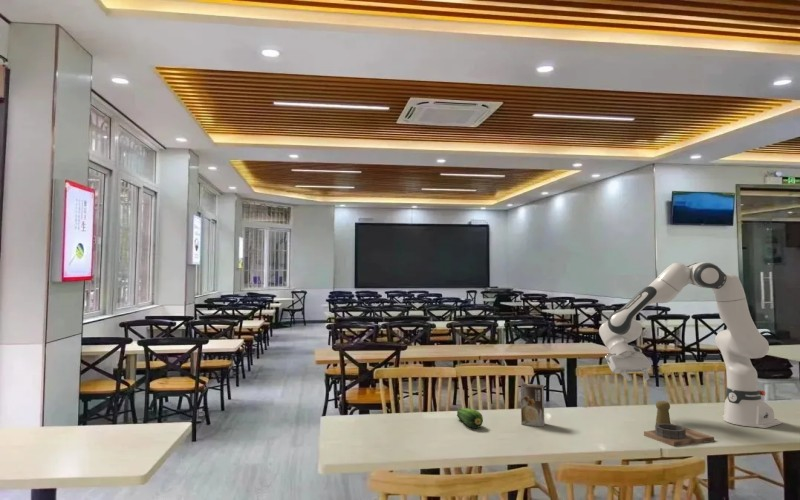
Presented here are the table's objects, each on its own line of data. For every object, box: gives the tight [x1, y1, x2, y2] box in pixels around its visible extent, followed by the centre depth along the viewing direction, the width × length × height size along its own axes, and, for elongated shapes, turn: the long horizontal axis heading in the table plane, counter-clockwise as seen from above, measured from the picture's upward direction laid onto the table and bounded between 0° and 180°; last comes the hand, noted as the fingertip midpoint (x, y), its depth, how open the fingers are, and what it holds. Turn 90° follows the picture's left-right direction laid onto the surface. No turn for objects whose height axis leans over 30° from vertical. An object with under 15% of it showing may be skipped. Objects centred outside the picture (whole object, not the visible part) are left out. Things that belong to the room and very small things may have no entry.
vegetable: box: [456, 407, 484, 429], centre depth 220 cm, size 7×7×20 cm
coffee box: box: [520, 383, 545, 427], centre depth 220 cm, size 9×6×16 cm
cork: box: [655, 400, 672, 425], centre depth 213 cm, size 6×6×11 cm
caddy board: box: [643, 423, 715, 447], centre depth 200 cm, size 20×14×4 cm
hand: (639, 379), depth 226 cm, fingers open, 8 cm apart
